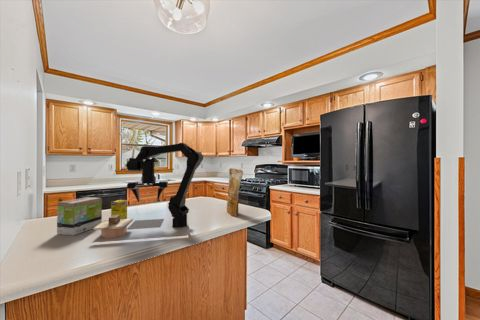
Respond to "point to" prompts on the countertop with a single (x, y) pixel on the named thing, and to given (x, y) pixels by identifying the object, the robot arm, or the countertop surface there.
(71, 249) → the countertop surface
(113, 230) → the bowl
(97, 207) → the tea box
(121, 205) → the supplement box
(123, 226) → the lid
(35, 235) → the countertop surface
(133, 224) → the mat
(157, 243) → the countertop surface
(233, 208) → the pancake mix bag
